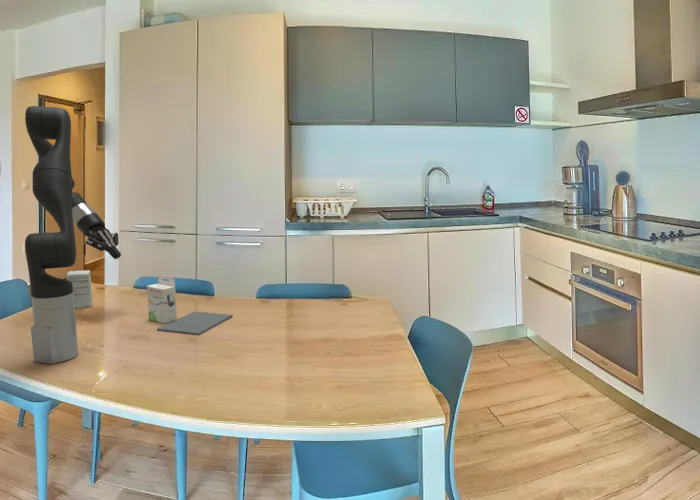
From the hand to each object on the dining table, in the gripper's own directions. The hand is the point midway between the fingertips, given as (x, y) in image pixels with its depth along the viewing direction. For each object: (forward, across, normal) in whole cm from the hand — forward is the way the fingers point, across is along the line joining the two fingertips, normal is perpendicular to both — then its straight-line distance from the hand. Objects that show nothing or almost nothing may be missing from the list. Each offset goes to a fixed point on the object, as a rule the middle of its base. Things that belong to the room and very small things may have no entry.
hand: (118, 257), depth 158 cm
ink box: (+26, 0, +2) cm, 26 cm away
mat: (+35, 0, -7) cm, 36 cm away
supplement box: (-2, +5, +31) cm, 32 cm away
